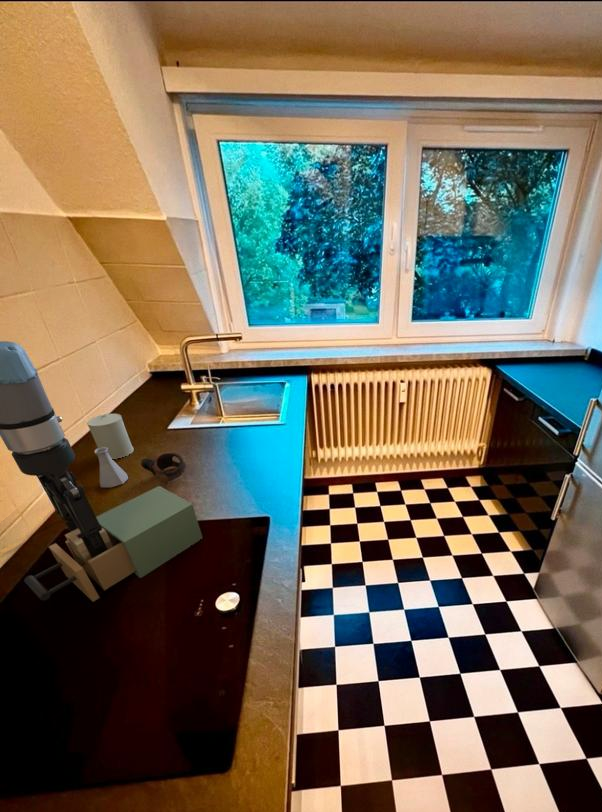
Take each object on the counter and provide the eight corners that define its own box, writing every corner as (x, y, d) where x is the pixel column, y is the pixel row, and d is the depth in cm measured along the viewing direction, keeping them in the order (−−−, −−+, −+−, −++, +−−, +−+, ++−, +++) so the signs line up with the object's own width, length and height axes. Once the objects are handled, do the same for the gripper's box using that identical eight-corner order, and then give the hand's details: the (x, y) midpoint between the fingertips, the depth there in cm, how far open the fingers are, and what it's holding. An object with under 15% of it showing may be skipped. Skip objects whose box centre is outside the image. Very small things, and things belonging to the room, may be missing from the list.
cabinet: (140, 578, 77) (124, 542, 72) (109, 553, 83) (92, 518, 78) (202, 538, 87) (192, 504, 82) (171, 518, 93) (159, 485, 88)
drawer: (58, 623, 67) (37, 593, 63) (32, 594, 73) (11, 564, 69) (161, 559, 80) (149, 530, 76) (132, 538, 86) (120, 510, 82)
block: (115, 549, 75) (105, 530, 72) (87, 565, 72) (76, 545, 69) (102, 540, 78) (92, 520, 75) (75, 554, 74) (64, 534, 71)
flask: (103, 476, 110) (89, 445, 105) (131, 472, 112) (118, 441, 106) (96, 490, 104) (81, 458, 99) (126, 485, 106) (113, 453, 100)
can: (133, 443, 127) (120, 409, 121) (134, 455, 120) (121, 419, 114) (101, 450, 123) (86, 415, 117) (101, 463, 117) (85, 426, 110)
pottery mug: (191, 465, 116) (188, 450, 109) (184, 493, 111) (182, 478, 104) (146, 460, 112) (141, 444, 106) (138, 488, 107) (132, 473, 101)
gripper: (90, 450, 60) (138, 559, 73) (42, 422, 69) (92, 524, 81) (34, 470, 55) (96, 584, 67) (-10, 438, 64) (52, 544, 76)
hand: (94, 551), depth 74 cm, fingers closed on block, 5 cm apart
